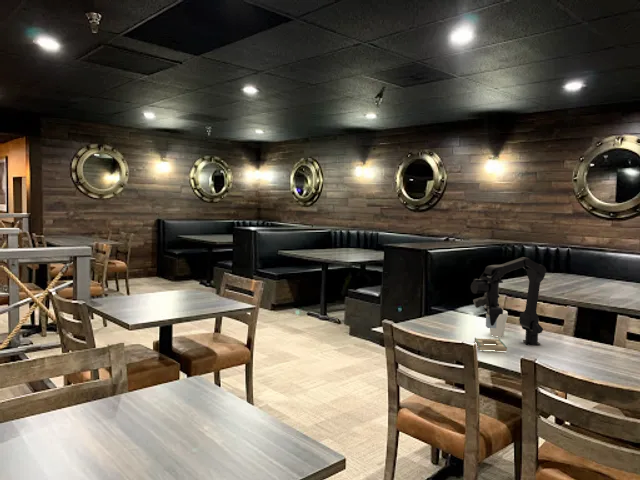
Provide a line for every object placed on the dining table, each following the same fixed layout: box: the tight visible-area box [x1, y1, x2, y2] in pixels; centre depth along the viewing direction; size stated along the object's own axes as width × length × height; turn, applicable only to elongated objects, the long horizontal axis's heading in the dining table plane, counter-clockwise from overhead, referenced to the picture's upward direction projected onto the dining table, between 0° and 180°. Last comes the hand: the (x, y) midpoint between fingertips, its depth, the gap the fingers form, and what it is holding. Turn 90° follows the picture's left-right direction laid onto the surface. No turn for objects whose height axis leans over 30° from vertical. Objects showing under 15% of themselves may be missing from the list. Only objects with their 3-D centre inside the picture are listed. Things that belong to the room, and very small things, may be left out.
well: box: [474, 337, 508, 351], centre depth 234 cm, size 14×12×2 cm
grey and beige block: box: [485, 313, 497, 329], centre depth 232 cm, size 4×4×6 cm
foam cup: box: [489, 309, 509, 338], centre depth 253 cm, size 10×9×13 cm
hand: (491, 324), depth 233 cm, fingers closed on grey and beige block, 4 cm apart
